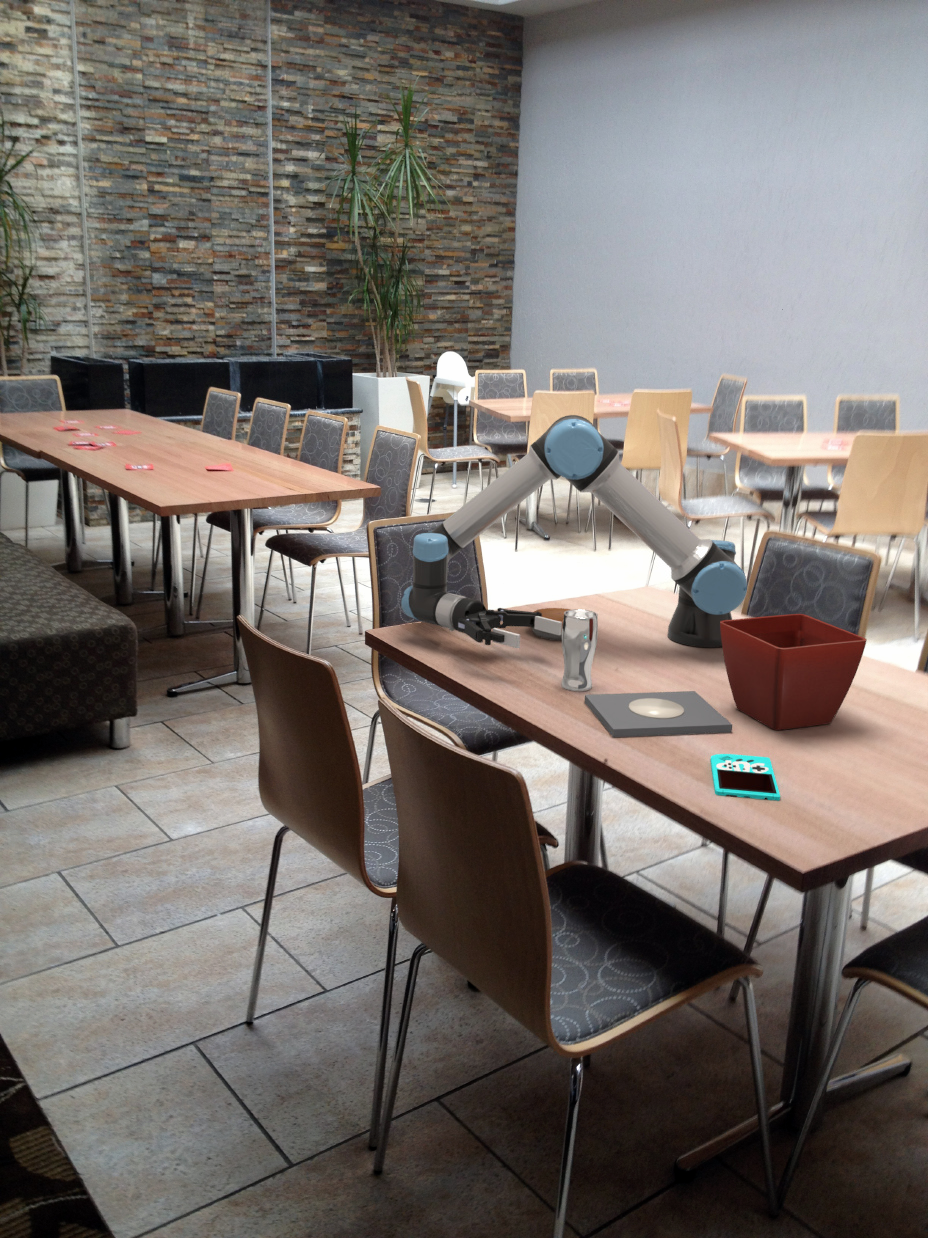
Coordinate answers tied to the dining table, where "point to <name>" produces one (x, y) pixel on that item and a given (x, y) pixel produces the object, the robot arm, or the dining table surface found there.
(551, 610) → the pie
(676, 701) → the serving board
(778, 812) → the dining table surface
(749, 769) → the handheld game console
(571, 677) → the beer glass
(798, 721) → the plant pot
